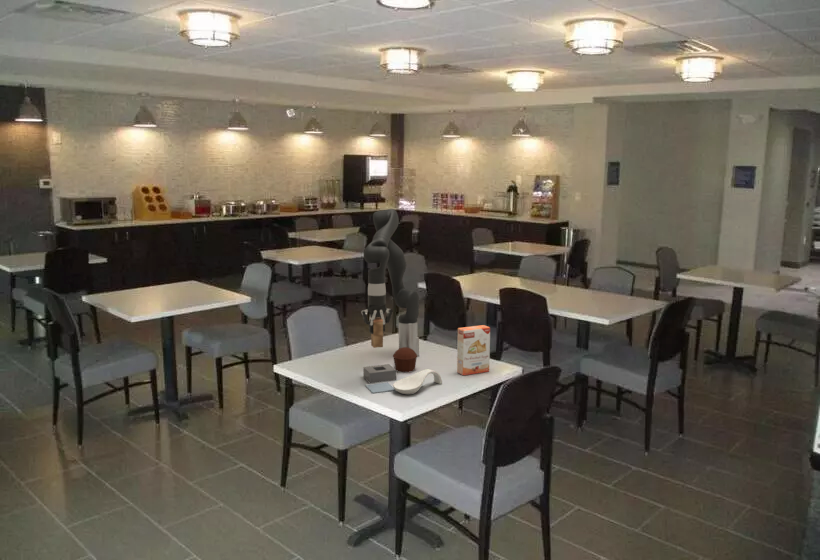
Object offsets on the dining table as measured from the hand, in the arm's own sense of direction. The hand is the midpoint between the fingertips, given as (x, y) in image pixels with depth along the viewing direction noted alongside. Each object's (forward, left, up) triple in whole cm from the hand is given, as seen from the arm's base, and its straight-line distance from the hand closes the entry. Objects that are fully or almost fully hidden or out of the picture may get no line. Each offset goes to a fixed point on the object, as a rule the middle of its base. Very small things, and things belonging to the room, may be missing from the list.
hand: (376, 333), depth 279 cm
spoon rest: (-13, +14, -23) cm, 30 cm away
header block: (-3, -6, -22) cm, 23 cm away
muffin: (-18, -14, -22) cm, 32 cm away
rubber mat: (+1, +7, -22) cm, 23 cm away
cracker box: (-45, +2, -22) cm, 50 cm away
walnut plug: (0, 0, -6) cm, 6 cm away
